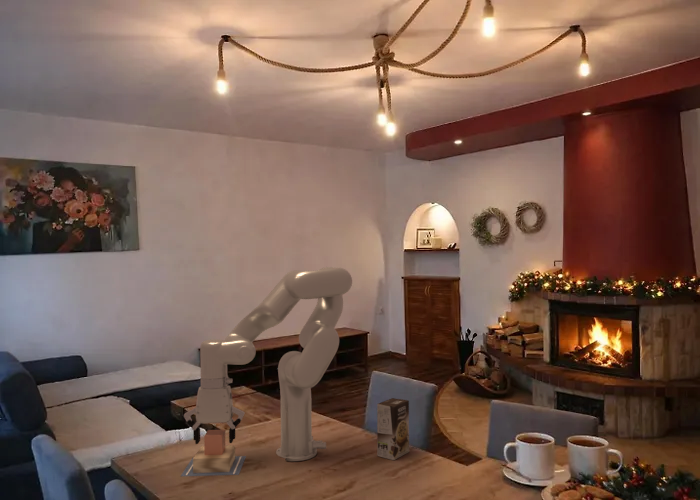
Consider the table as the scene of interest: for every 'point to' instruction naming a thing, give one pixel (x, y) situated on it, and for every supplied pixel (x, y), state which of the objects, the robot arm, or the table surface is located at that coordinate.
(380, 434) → the snack box
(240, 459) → the board
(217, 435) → the terracotta block
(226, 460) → the maple base block
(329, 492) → the table surface
